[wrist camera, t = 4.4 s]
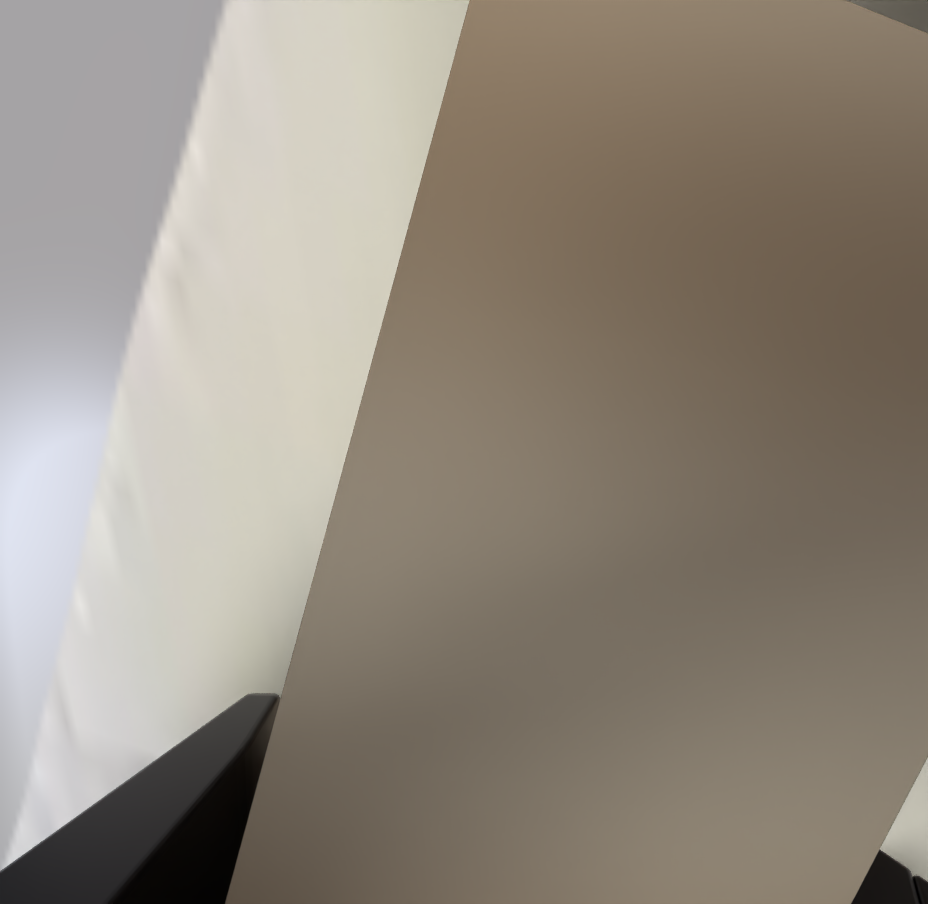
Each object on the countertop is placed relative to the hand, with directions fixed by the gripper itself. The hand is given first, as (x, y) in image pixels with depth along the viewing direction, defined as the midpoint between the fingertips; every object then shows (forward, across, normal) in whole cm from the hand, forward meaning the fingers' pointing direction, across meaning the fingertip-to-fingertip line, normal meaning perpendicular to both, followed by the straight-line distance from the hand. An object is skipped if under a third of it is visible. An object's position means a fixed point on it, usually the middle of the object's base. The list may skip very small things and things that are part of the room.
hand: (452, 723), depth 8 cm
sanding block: (+1, 0, 0) cm, 1 cm away
